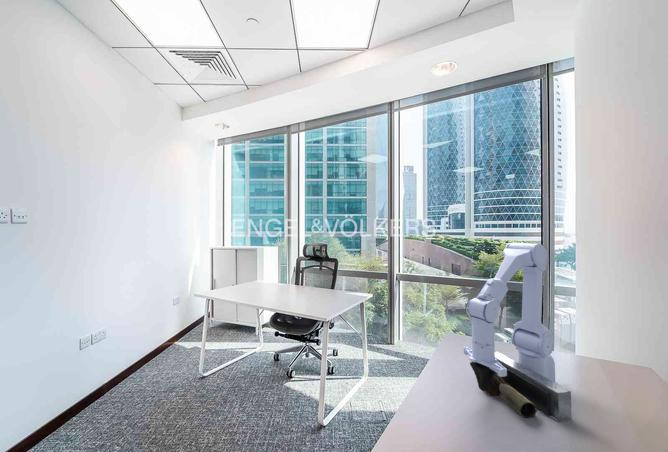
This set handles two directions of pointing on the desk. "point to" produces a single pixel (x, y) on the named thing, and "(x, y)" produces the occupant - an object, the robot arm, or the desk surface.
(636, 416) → the desk surface
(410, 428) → the desk surface
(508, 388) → the corroded crusty cylinder
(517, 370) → the grey metal tray
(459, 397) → the desk surface
